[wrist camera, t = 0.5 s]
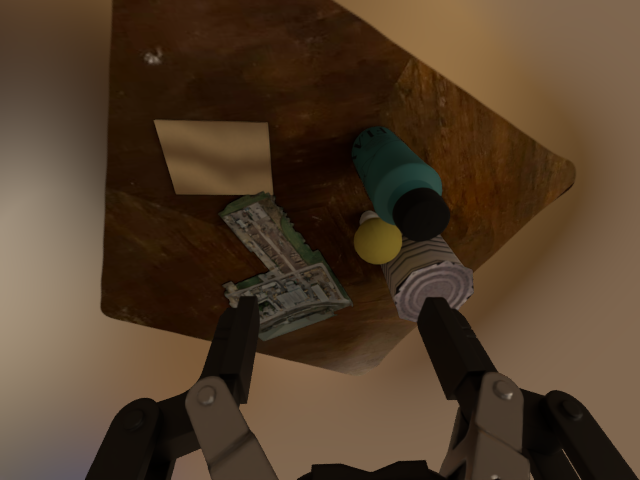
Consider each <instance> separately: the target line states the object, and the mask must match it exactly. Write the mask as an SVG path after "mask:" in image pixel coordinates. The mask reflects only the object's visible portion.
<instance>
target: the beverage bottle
mask: <svg viewBox="0 0 640 480" xmlns="http://www.w3.org/2000/svg"><path fill="white" fill-rule="evenodd" d="M384 127H385V126H384ZM384 127H382V126H381V127H378V126H377V127H373V126H372V127H371V128H370V127H369V128H368V129H365V131H362V133H361V134H360V135H359V136H357V139H356V140H355V142H354V145H352V146H353V148H352V156H351V157H352V160H353V162H354V164H355V166H356V168H355V169H356V171H358V172H357V173H359V174H358V176H360V177H359V179H360V178H361V180H362V182H363V183H362V184H364V186H363V187H365V188H366V191H367V192H366V191H365V192H366V194H367V193H368V194H367V195H368V196H369V198H370V199H371V200H370V201H372V203H373V206H374V209H375V211H376V213H377V215H378V216H379V217H380V218H381V219H382V220H383V221H385V222H386V223H388V224H391V225H395V226H396V227H397V228H398V229H399V230H400V231H401V233H402V234H403V235H404V236H405V237H406V238H408V239H409V240H411V241H416V242H423V241H428V240H431V239H433V238H435V237H437V236H438V235H439V234H441V233H442V232H443V231H444V230H445V228H446V227H447V225H448V223H449V220H450V211H449V208H448V206H447V205H446V204H445V202H444V200H443V198H442V197H441V193H442V183H441V179H440V177H439V175H438V174H437V172H436V171H435V170H434V169H433V168H431V167H430V166H428V165H427V164H426V163H425V162H424V161H422V160H421V159H420V158H419V157H418V156H417V155H416V154H415V153H414V152H412V151H411V150H410V149H409V148H408V146H407V145H408V144H406V142H405V144H404V143H403V142H404V141H403V142H402V141H401V140H400V139H399V138H398V137H397V136H396V135H395V134H396V133H395V132H394V133H395V134H394V133H393V132H391V131H392V130H391V131H390V130H389V129H390V128H389V129H387V127H386V128H384ZM365 188H364V189H365ZM369 198H368V199H369Z"/></svg>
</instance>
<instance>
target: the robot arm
mask: <svg viewBox="0 0 640 480" xmlns="http://www.w3.org/2000/svg"><path fill="white" fill-rule="evenodd" d="M417 325H418V329H419V332H420V334H421V337H422V339H423V342H424V344H425V347H426V349H427V352H428V354H429V356H430V359H431V362H432V364H433V367H434V369H435V371H436V374H437V376H438V379H439V381H440V384H441V386H442V389H443V391H444V394H445V396H446V398H447V400H457V401H458V403H459V405H460V407H459V408H458V410H457V415H456V419H455V423H454V427H453V432H452V436H451V441H450V444H449V449H448V452H447V455H446V457H445V459H444V461H443V463H442V466H441V469H440V472H439V473H437V472H434V471H432V470H430V469H428V466H427V463H426V461H425V460H418V461H398V462H395V463H393V464H391V465H388V466H386V467H383V468H381V469H379V470H376V471H374V472H368V471H364V470H361V469H357V468H354V467H350V466H347V465H344V464H315V465H312V469H311V472H309V473H307V474H305V475H303V476H302V477H300V478H298V479H297V480H530V472H531V474H532V476H533V478H534V480H580V479H579V477H578V476H577V474H576V472H575V471H574V469H573V467H572V466H571V464H570V462H569V460H570V461H571V463H572V465H573V466H574V468H575V470H576V471H577V473H578V475H579V476H580V478H581V480H639V479H638V478H637V476H636V475H635V474H634V472H633V471H632V469H631V468H630V467H629V465H628V464H627V463H626V462H625V460H624V459H623V458H622V456H621V455H620V453H619V452H618V450H617V449H616V448H615V446H614V445H613V444H612V442H611V441H610V440H609V438H608V437H607V436H606V434H605V433H604V431H603V430H602V429H601V428H600V426H599V425H598V423H597V422H596V421H595V419H594V418H593V417H592V415H591V414H590V412H589V411H588V410H587V409H586V407H585V406H584V405H583V404H582V403H581V402H579V401H578V400H577V399H576V398H574V397H573V396H571V395H569V394H567V393H565V392H562V391H557V390H553V391H550V392H549V393H547V394H546V395H545V396H544V395H540V394H537V393H534V392H530V391H527V390H524V389H521V388H518V386H517V385H516V384H515V383H514V382H513V381H512V380H511V379H510V378H508V377H507V376H505V375H503V374H501V373H499V372H498V371H497V370H496V368H495V366H494V365H493V363H492V362H491V360H490V358H489V356H488V355H487V353H486V351H485V350H484V348H483V346H482V345H481V343H480V341H479V340H478V339H477V338H476V335H475V333H474V332H473V330H471V326H470V325H469V323H468V321H467V320H466V318H465V317H464V316H463V315H462V314H461V313H460V312H459V311H458V310H457V309H456V308H451V307H450V305H449V304H448V302H447V300H446V299H445V298H444V297H427V298H426V299H425V301H424V303H423V306H422V308H421V311H420V313H419V316H418V319H417ZM259 328H260V314H259V306H258V298H257V296H240V298H239V301H238V305H237V308H227V309H226V310H225V312H224V313H223V314H222V315H221V316H220V319H219V322H218V325H217V328H216V331H215V334H214V338H213V340H212V343H211V346H210V350H209V353H208V356H207V359H206V362H205V365H204V368H203V371H202V374H201V376H200V378H199V379H198V381H197V382H196V383H195V384H194V385H193V386H192V387H191V388H190V389H189V390H187V391H186V392H184V393H182V394H180V395H177V396H175V397H172V398H169V399H166V400H163V401H160V402H157V403H156V402H155V401H154V400H152V399H150V398H140V399H137V400H134V401H132V402H131V403H129V404H127V405H126V406H125V407H123V408H122V409H121V410H120V411H119V413H117V415H116V416H115V417H114V419H113V421H112V423H111V425H110V427H109V429H108V431H107V433H106V435H105V438H104V440H103V442H102V444H101V446H100V448H99V450H98V453H97V455H96V457H95V459H94V461H93V463H92V465H91V467H90V469H89V472H88V474H87V476H86V478H85V480H171V476H172V473H173V469H174V465H175V462H176V459H177V458H179V457H182V456H184V455H186V454H189V453H191V452H193V451H196V450H198V449H202V452H203V455H204V457H205V460H206V462H207V465H208V470H209V473H210V476H211V479H212V480H279V479H278V478H277V476H276V474H275V472H274V470H273V468H272V466H271V464H270V462H269V461H268V459H267V457H266V455H265V453H264V451H263V449H262V447H261V445H260V444H259V442H258V440H257V438H256V437H255V435H254V434H253V433H252V432H251V430H250V429H249V427H248V425H247V423H246V421H245V419H244V418H243V416H242V413H241V412H240V410H239V406H240V404H247V400H248V394H249V388H250V381H251V376H252V370H253V364H254V358H255V352H256V346H257V340H258V334H259ZM562 449H563V450H564V451H565V453H566V455H567V456H568V458H569V460H568V459H567V457H566V455H565V454H564V452H563V450H562Z"/></svg>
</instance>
